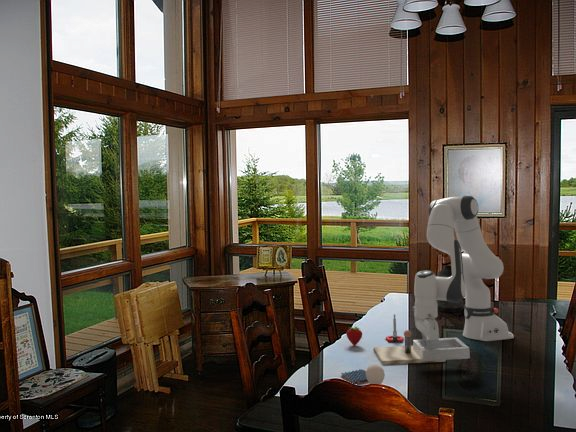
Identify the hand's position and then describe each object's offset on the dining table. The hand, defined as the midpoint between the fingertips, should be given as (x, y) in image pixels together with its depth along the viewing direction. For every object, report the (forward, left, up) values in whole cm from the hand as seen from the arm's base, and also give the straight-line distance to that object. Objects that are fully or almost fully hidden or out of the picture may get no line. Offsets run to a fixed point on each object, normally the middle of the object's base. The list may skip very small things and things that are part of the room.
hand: (427, 345), depth 207 cm
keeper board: (+5, -11, -8) cm, 14 cm away
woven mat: (+30, +12, -8) cm, 33 cm away
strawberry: (+25, -29, -8) cm, 39 cm away
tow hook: (+5, -35, -8) cm, 36 cm away
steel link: (-3, +6, -2) cm, 7 cm away
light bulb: (+27, +29, -8) cm, 40 cm away
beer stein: (-41, -89, -8) cm, 99 cm away
